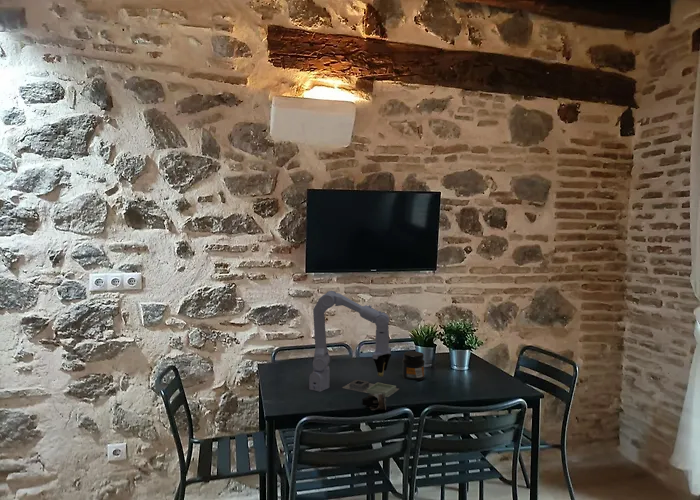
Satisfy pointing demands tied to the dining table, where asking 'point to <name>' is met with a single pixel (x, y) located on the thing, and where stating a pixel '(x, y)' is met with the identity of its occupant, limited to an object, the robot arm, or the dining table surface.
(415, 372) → the supplement container
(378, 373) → the lock pin
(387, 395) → the plate
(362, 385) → the tensioner collar
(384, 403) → the caster wheel
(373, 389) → the tray
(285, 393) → the dining table surface
